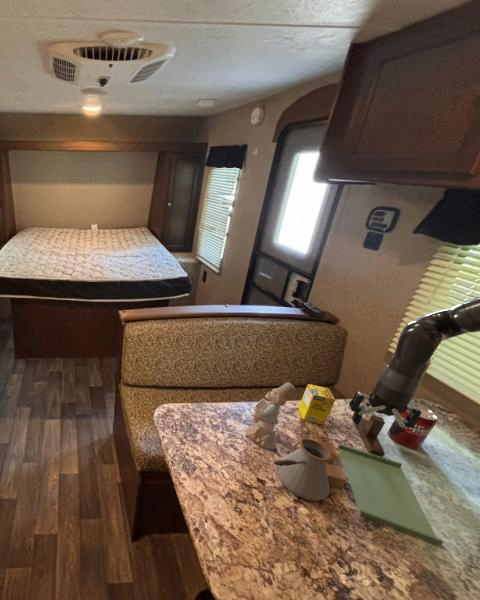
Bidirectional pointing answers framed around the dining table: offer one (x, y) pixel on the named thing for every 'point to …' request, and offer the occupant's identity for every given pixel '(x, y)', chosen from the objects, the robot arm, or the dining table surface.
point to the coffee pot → (306, 470)
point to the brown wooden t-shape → (371, 434)
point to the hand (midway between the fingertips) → (373, 428)
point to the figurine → (268, 416)
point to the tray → (385, 493)
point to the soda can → (415, 429)
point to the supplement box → (316, 404)
